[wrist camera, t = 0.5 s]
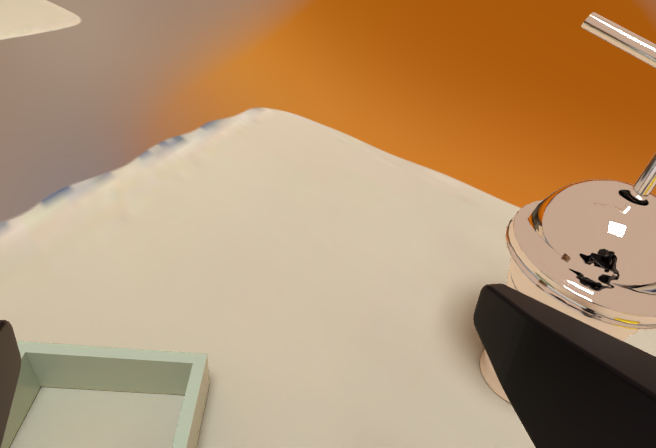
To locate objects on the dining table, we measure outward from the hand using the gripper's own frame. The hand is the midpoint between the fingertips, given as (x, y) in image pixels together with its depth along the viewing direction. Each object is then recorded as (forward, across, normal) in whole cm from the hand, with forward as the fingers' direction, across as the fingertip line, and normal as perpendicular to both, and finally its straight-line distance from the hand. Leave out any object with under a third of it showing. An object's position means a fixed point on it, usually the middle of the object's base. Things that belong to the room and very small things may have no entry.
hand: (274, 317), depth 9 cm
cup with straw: (+11, -17, +15) cm, 25 cm away
